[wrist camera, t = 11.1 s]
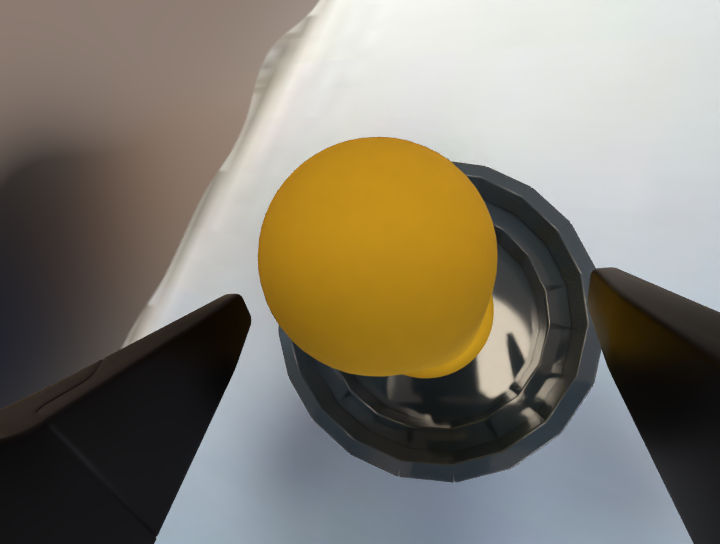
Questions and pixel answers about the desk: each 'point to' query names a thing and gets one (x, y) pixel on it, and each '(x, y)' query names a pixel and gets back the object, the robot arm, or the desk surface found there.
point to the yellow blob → (380, 260)
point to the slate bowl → (478, 360)
